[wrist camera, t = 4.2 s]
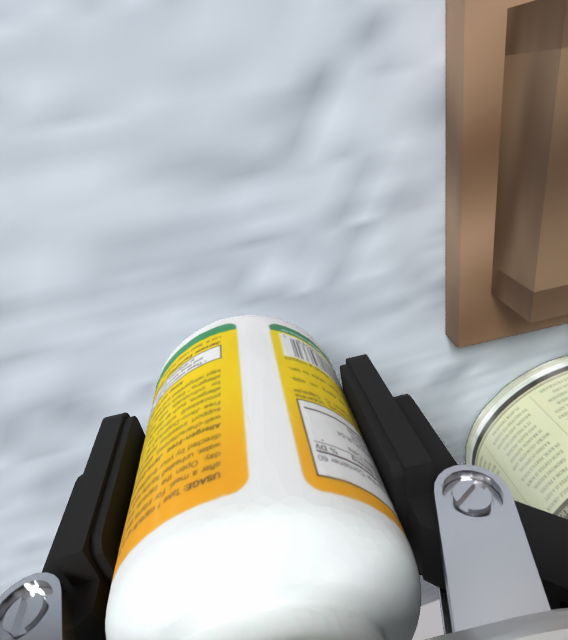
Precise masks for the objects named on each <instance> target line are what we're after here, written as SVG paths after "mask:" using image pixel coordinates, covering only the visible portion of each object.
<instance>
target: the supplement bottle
mask: <svg viewBox="0 0 568 640" xmlns="http://www.w3.org/2000/svg"><path fill="white" fill-rule="evenodd" d="M420 607H421V584H420V577H419V571H418V567H417V564H416V561H415V557H414V554H413V551H412V548H411V546H410V544H409V541H408V539H407V537H406V534H405V532H404V530H403V527H402V525H401V523H400V520H399V518H398V516H397V513H396V511H395V509H394V506H393V504H392V502H391V499H390V497H389V495H388V493H387V491H386V488H385V486H384V484H383V481H382V479H381V477H380V474H379V472H378V470H377V467H376V465H375V463H374V461H373V458H372V456H371V454H370V452H369V449H368V447H367V445H366V443H365V441H364V438H363V436H362V434H361V432H360V429H359V427H358V425H357V422H356V420H355V418H354V415H353V413H352V411H351V409H350V406H349V404H348V402H347V399H346V397H345V394H344V392H343V389H342V387H341V385H340V383H339V380H338V378H337V376H336V373H335V371H334V369H333V367H332V365H331V363H330V361H329V359H328V357H327V356H326V354H325V352H324V351H323V349H322V348H321V347H320V346H319V344H318V343H317V342H316V341H315V340H314V339H313V338H312V337H311V336H310V335H309V334H307V333H306V332H305V331H303V330H302V329H300V328H299V327H297V326H295V325H293V324H291V323H289V322H287V321H284V320H280V319H277V318H273V317H268V316H262V315H241V316H233V317H229V318H225V319H220V320H217V321H215V322H213V323H211V324H209V325H207V326H205V327H203V328H201V329H200V330H197V331H196V332H195V333H193V334H192V335H190V336H189V337H188V338H187V339H185V340H184V341H183V342H182V343H181V344H180V345H179V346H178V347H177V348H176V349H175V350H174V351H173V352H172V354H171V355H170V356H169V358H168V359H167V361H166V363H165V365H164V366H163V368H162V371H161V373H160V376H159V380H158V383H157V387H156V391H155V396H154V400H153V405H152V409H151V413H150V418H149V423H148V427H147V432H146V437H145V441H144V445H143V450H142V454H141V458H140V463H139V468H138V471H137V476H136V480H135V485H134V489H133V493H132V498H131V502H130V506H129V510H128V515H127V518H126V522H125V526H124V531H123V535H122V539H121V543H120V548H119V553H118V557H117V562H116V566H115V570H114V575H113V579H112V584H111V588H110V593H109V598H108V603H107V609H106V619H105V633H106V640H412V638H413V635H414V632H415V630H416V627H417V624H418V619H419V615H420Z"/></svg>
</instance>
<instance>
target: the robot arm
mask: <svg viewBox="0 0 568 640" xmlns="http://www.w3.org/2000/svg"><path fill="white" fill-rule="evenodd" d="M340 373H341V379H342V386H343V392H344V394H345V397H346V399H347V402H348V404H349V406H350V409H351V411H352V413H353V415H354V418H355V420H356V422H357V425H358V427H359V429H360V432H361V434H362V436H363V438H364V441H365V443H366V445H367V447H368V449H369V452H370V454H371V456H372V458H373V461H374V463H375V465H376V467H377V470H378V472H379V474H380V477H381V479H382V481H383V484H384V486H385V488H386V491H387V493H388V495H389V497H390V499H391V502H392V504H393V506H394V509H395V511H396V513H397V516H398V518H399V520H400V523H401V525H402V527H403V530H404V532H405V534H406V537H407V539H408V541H409V544H410V546H411V548H412V551H413V554H414V557H415V561H416V564H417V567H418V571H419V575H422V576H423V579H424V580H426V581H428V582H430V583H431V584H433V585H435V586H437V587H438V591H439V599H440V607H441V614H442V622H443V629H444V635H441V636H437V637H434V638H430V639H426V640H568V519H565V518H562V517H560V516H557V515H554V514H551V513H548V512H546V511H543V510H540V509H537V508H534V507H532V506H529V505H526V504H523V503H520V502H518V501H515V500H514V499H513V496H512V493H511V491H510V489H509V488H508V486H507V484H506V483H505V482H504V481H503V480H502V479H501V478H500V477H499V476H498V475H496V474H495V473H493V472H491V471H490V470H488V469H485V468H482V467H479V466H475V465H466V464H464V465H457V463H456V462H455V460H454V459H453V457H452V456H451V454H450V453H449V451H448V450H447V448H446V447H445V446H444V444H443V443H442V441H441V440H440V438H439V437H438V435H437V434H436V432H435V431H434V429H433V428H432V426H431V425H430V424H429V422H428V421H427V419H426V418H425V416H424V415H423V413H422V412H421V410H420V409H419V407H418V406H417V405H416V403H415V402H414V400H413V399H412V398H411V396H410V395H408V394H405V395H400V396H396V397H393V396H392V395H391V393H390V391H389V390H388V388H387V387H386V385H385V383H384V382H383V380H382V378H381V377H380V375H379V374H378V372H377V370H376V369H375V367H374V366H373V364H372V362H371V361H370V359H369V357H368V356H367V355H366V354H364V355H360V356H356V357H352V358H348V359H346V364H345V365H341V366H340ZM145 437H146V436H145V434H144V432H143V430H142V427H141V425H140V423H139V421H138V419H137V417H136V416H132V417H130V416H129V414H128V413H122V414H118V415H114V416H109V417H106V418H104V419H103V421H102V423H101V426H100V429H99V432H98V434H97V437H96V440H95V443H94V445H93V448H92V451H91V454H90V457H89V459H88V462H87V465H86V468H85V470H84V473H83V475H81V476H79V477H78V479H77V481H76V482H75V485H74V488H73V490H72V493H71V496H70V498H69V501H68V504H67V506H66V509H65V512H64V514H63V517H62V520H61V522H60V525H59V528H58V531H57V533H56V536H55V539H54V541H53V544H52V547H51V549H50V552H49V555H48V557H47V560H46V563H45V565H44V568H43V571H42V573H36V574H33V575H31V576H28V577H25V578H23V579H22V580H20V581H19V582H17V583H15V584H14V585H12V586H11V587H10V588H9V589H8V590H7V591H5V592H4V593H3V594H2V595H1V596H0V640H106V633H105V619H106V609H107V603H108V598H109V593H110V588H111V584H112V579H113V575H114V570H115V566H116V562H117V557H118V553H119V548H120V543H121V539H122V535H123V531H124V526H125V522H126V518H127V515H128V510H129V506H130V502H131V498H132V493H133V489H134V485H135V480H136V476H137V471H138V468H139V463H140V458H141V454H142V450H143V445H144V441H145Z"/></svg>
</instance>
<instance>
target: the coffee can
mask: <svg viewBox="0 0 568 640" xmlns="http://www.w3.org/2000/svg"><path fill="white" fill-rule="evenodd" d="M466 465H475V466H479V467H482V468H485V469H488V470H490V471H491V472H493V473H495V474H496V475H498V476H499V477H500V478H501V479H502V480H503V481H504V482H505V483H506V484H507V486H508V488H509V489H510V491H511V493H512V496H513V499H514V500H515V501H518V502H520V503H523V504H526V505H529V506H532V507H534V508H537V509H540V510H543V511H546V512H548V513H551V514H554V515H557V516H560V517H562V518H565V519H568V356H564V357H560V358H557V359H554V360H551V361H548V362H546V363H544V364H542V365H539V366H537V367H535V368H533V369H531V370H530V371H528V372H526V373H524V374H523V375H521V376H519V377H518V378H516V379H515V380H513V381H512V382H511V383H509V384H508V385H506V386H505V387H504V388H503V389H502V390H501V391H500V392H499V393H498V394H497V395H496V396H495V397H494V398H493V399H492V400H491V401H490V402H489V403H488V404H487V405H486V407H485V408H484V409H483V410H482V412H481V413H480V415H479V416H478V418H477V419H476V421H475V423H474V425H473V427H472V429H471V432H470V434H469V437H468V441H467V444H466Z"/></svg>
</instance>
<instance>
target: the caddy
mask: <svg viewBox="0 0 568 640" xmlns="http://www.w3.org/2000/svg"><path fill="white" fill-rule="evenodd" d="M566 323H568V0H446V335H447V336H448V337H449V338H450V339H451V340H452V341H453V342H454V344H455V345H456V346H457V347H458V348H461V347H465V346H469V345H474V344H478V343H483V342H487V341H491V340H496V339H500V338H504V337H509V336H513V335H517V334H522V333H526V332H531V331H535V330H539V329H544V328H548V327H552V326H557V325H561V324H566Z"/></svg>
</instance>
